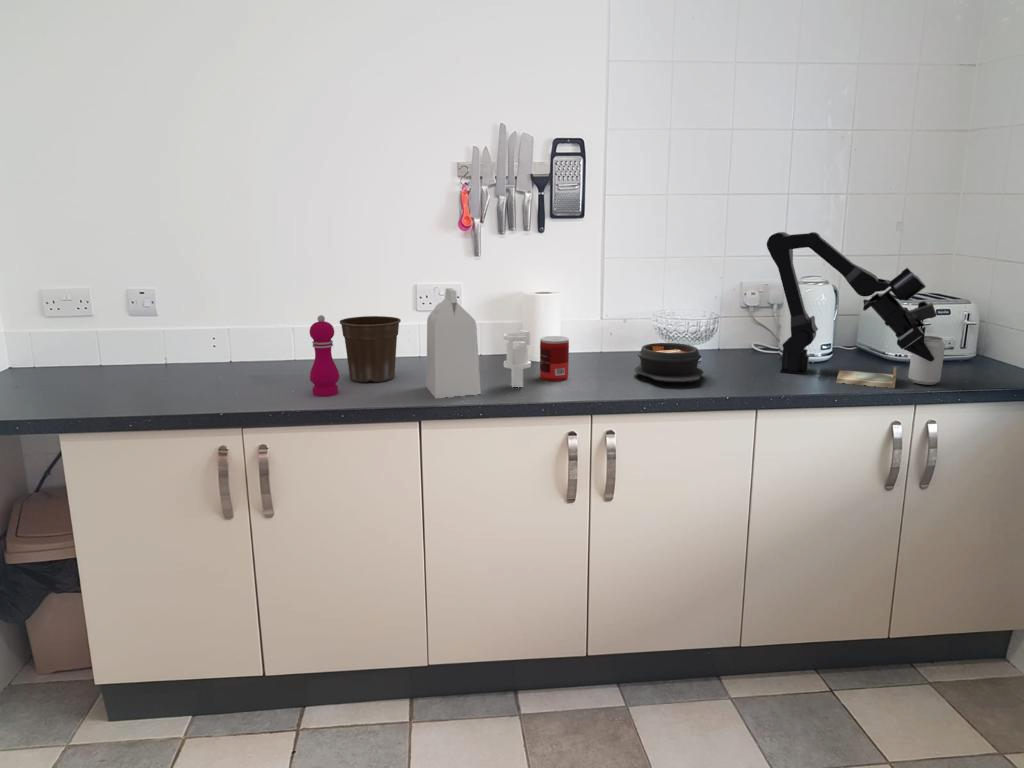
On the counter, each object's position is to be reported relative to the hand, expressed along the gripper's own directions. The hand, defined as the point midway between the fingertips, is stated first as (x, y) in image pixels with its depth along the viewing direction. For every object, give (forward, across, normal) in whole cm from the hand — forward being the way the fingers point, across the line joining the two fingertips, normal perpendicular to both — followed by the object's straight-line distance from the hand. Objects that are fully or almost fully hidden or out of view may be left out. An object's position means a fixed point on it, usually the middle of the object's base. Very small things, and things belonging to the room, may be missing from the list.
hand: (933, 357), depth 207 cm
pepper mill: (-89, -80, +102) cm, 157 cm away
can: (+4, 0, +6) cm, 7 cm away
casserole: (-39, -23, +51) cm, 68 cm away
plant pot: (-89, -61, +102) cm, 148 cm away
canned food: (-58, -38, +70) cm, 99 cm away
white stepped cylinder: (-61, -51, +74) cm, 109 cm away
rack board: (-5, -4, +16) cm, 17 cm away
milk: (-70, -63, +83) cm, 125 cm away
